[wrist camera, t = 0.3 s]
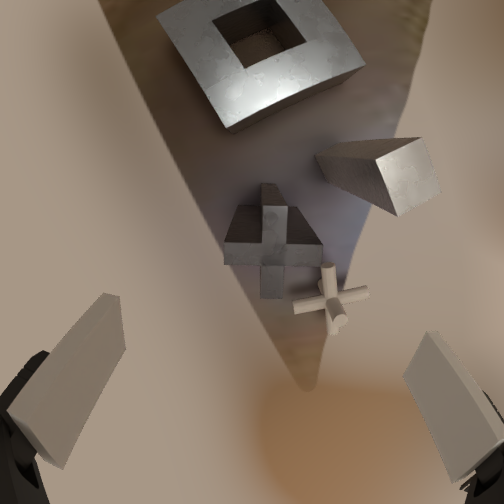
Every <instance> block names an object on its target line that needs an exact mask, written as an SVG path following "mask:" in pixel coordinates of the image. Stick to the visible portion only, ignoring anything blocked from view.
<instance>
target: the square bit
mask: <svg viewBox="0 0 504 504" xmlns="http://www.w3.org/2000/svg"><path fill="white" fill-rule="evenodd" d="M314 156H315V158H316V160H317V162H318V164H319V166H320V168H321V170H322V172H323V174H324V176H325V178H326V180H327V182H328V183H329V184H332V185H334V186H336V187H338V188H340V189H343V190H345V191H347V192H349V193H351V194H353V195H355V196H357V197H359V198H362V199H364V200H366V201H368V202H370V203H372V204H374V205H376V206H378V207H380V208H382V209H384V210H386V211H387V212H389V213H391V214H393V215H395V216H397V217H398V216H400V215H402V214H404V213H406V212H407V211H409V210H411V209H412V208H415V207H416V206H418V205H420V204H422V203H424V202H425V201H427V200H429V199H430V198H432V197H434V196H436V195H438V194H439V193H441V189H440V186H439V183H438V179H437V176H436V173H435V170H434V167H433V165H432V162H431V159H430V156H429V153H428V150H427V148H426V145H425V143H424V140H423V138H422V137H417V138H392V139H376V140H363V141H352V142H342V143H339V144H337V145H334V146H332V147H330V148H328V149H326V150H324V151H322V152H320V153H318V154H316V155H314Z"/></svg>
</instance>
